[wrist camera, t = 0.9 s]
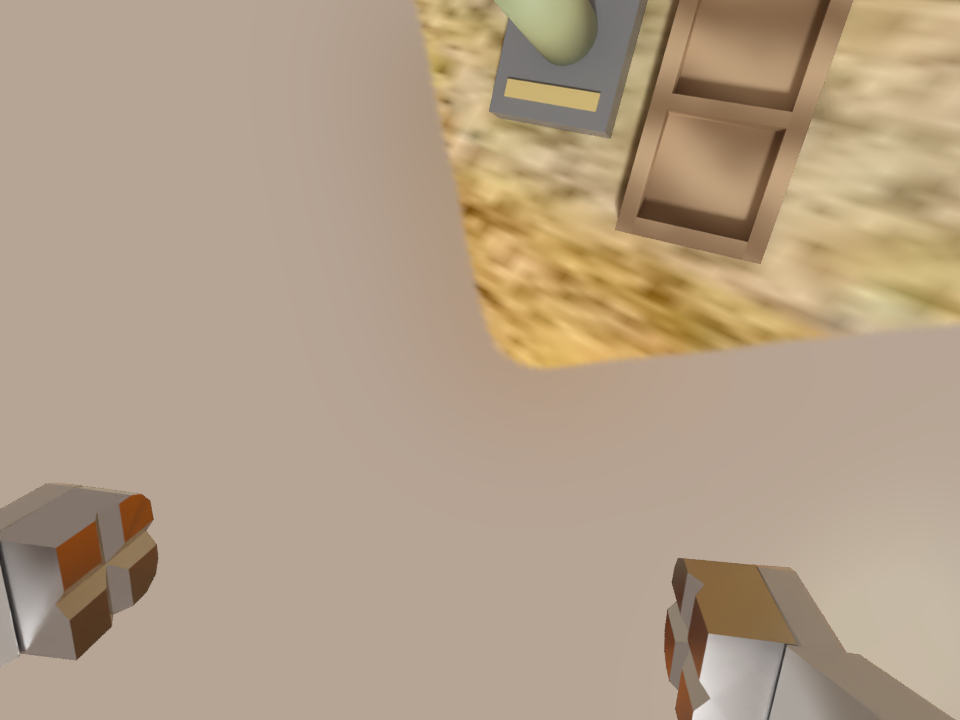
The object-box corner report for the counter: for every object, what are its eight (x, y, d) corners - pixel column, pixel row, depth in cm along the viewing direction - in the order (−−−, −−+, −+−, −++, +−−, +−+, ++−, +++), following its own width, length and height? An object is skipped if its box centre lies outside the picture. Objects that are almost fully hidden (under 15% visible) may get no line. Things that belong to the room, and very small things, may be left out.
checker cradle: (537, -53, 43) (525, -74, 40) (659, -43, 40) (655, -65, 37) (499, 117, 46) (486, 109, 43) (610, 138, 43) (603, 130, 41)
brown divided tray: (694, -35, 40) (693, -50, 38) (857, -21, 36) (866, -37, 34) (619, 230, 44) (615, 229, 42) (758, 263, 41) (760, 264, 39)
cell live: (544, -6, 41) (491, -87, 31) (605, 0, 40) (570, -82, 30) (529, 61, 42) (474, 3, 32) (588, 70, 41) (548, 12, 31)
